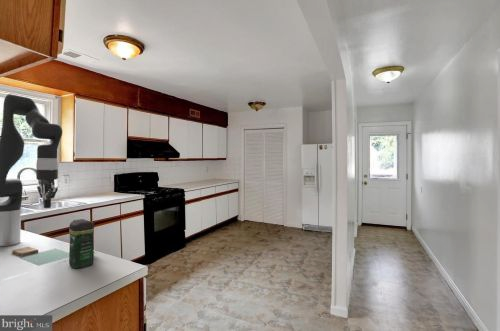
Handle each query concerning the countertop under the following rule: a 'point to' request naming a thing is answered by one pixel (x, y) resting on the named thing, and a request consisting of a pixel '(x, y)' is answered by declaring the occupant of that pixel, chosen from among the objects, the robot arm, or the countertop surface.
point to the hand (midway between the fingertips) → (47, 207)
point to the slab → (25, 251)
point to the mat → (46, 256)
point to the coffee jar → (81, 243)
